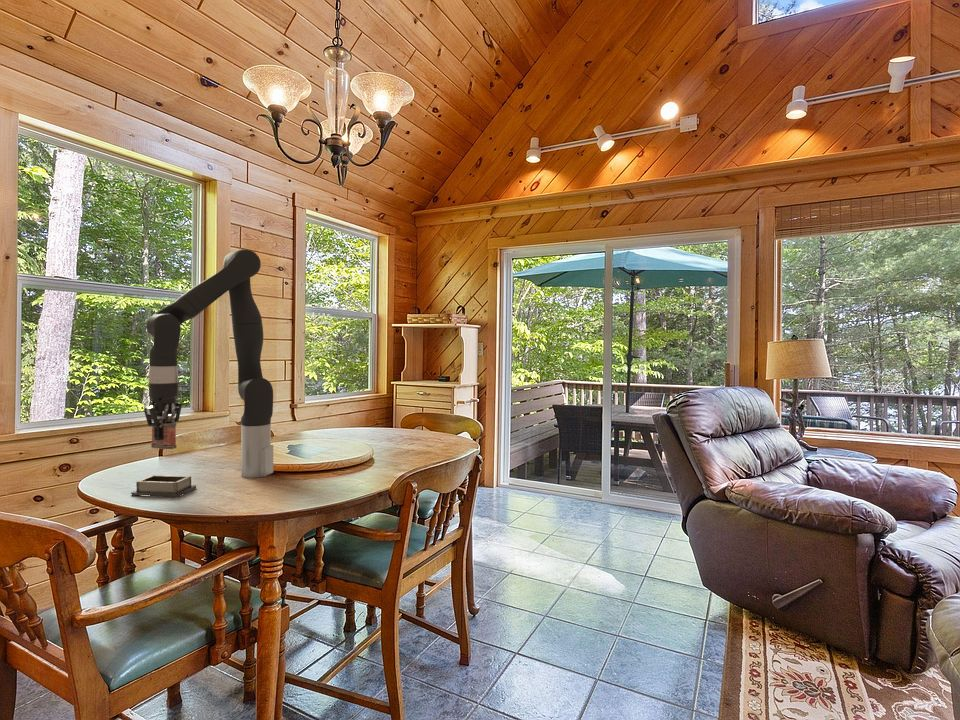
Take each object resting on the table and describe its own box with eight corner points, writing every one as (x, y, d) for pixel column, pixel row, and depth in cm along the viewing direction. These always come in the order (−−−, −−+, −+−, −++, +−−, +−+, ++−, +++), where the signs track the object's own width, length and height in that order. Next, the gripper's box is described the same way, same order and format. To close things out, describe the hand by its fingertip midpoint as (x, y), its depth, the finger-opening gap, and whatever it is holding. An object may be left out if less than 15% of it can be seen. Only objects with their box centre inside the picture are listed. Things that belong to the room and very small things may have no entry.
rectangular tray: (152, 487, 159) (152, 474, 159) (196, 488, 158) (196, 475, 158) (131, 495, 150) (130, 482, 150) (177, 497, 149) (176, 483, 149)
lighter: (179, 447, 154) (179, 414, 154) (169, 449, 151) (169, 415, 150) (158, 445, 156) (157, 412, 156) (148, 447, 153) (147, 414, 152)
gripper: (159, 383, 145) (159, 444, 146) (190, 379, 159) (191, 434, 160) (133, 383, 146) (134, 443, 146) (167, 379, 160) (168, 434, 161)
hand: (164, 438), depth 153 cm, fingers closed on lighter, 3 cm apart
